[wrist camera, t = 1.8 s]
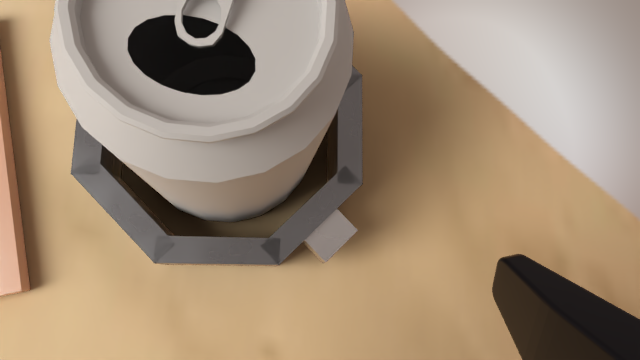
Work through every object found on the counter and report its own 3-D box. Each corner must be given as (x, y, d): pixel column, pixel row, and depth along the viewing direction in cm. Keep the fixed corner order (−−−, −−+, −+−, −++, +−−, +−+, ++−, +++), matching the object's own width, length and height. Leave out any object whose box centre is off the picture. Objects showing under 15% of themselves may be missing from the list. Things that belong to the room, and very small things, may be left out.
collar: (414, 166, 24) (437, 151, 21) (239, 341, 21) (236, 352, 18) (218, -34, 24) (214, -77, 21) (26, 113, 22) (-9, 88, 19)
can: (120, 201, 22) (-38, 116, 10) (169, 45, 23) (82, -189, 11) (290, 242, 22) (330, 205, 11) (326, 86, 24) (397, -96, 12)
